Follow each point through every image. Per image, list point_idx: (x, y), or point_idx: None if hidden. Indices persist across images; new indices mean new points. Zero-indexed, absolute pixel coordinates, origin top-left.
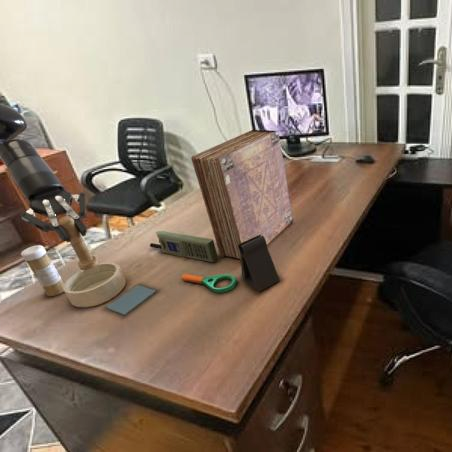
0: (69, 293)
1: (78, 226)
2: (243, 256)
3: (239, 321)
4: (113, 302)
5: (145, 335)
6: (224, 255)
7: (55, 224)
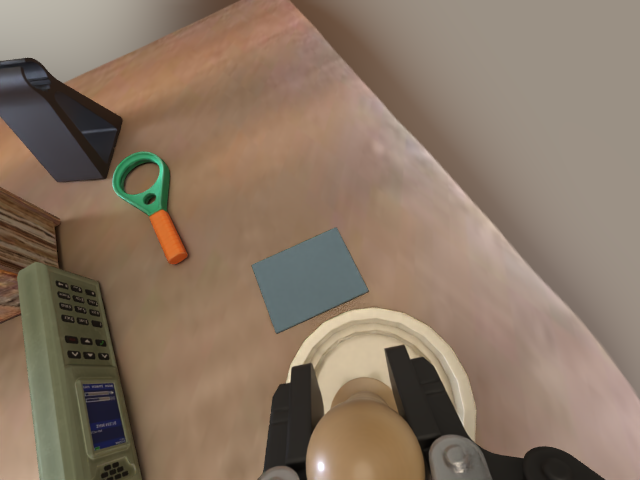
0: (450, 347)
1: (306, 401)
2: (53, 89)
3: (189, 83)
4: (348, 297)
5: (318, 144)
6: None
7: (457, 451)
